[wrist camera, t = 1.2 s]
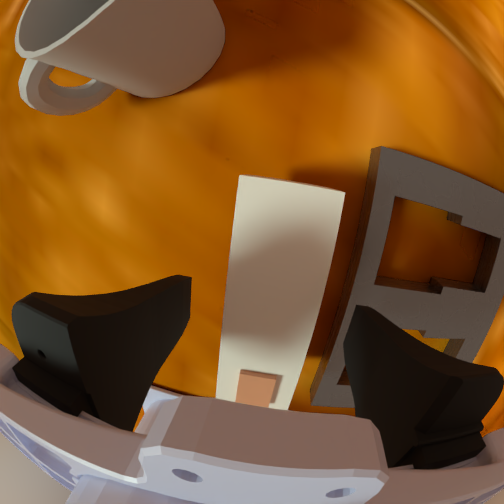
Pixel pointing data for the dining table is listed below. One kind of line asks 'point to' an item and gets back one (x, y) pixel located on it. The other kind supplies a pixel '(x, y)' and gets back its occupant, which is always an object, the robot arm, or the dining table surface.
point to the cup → (115, 49)
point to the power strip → (274, 286)
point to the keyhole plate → (409, 292)
